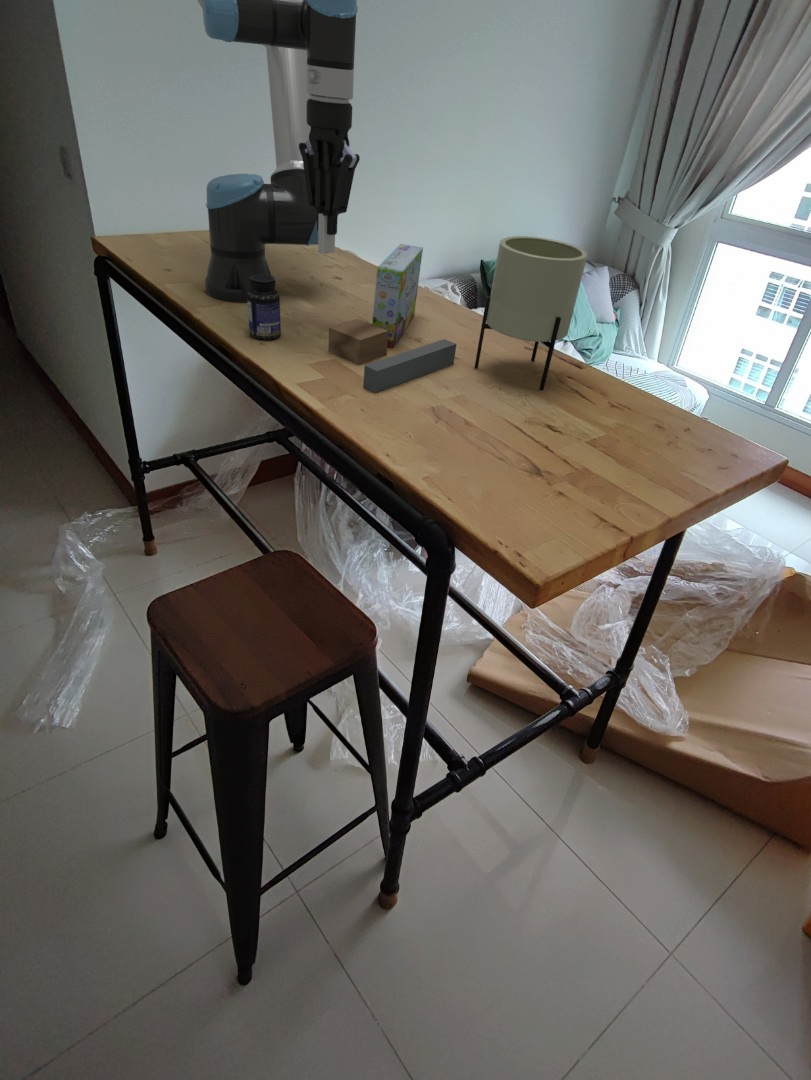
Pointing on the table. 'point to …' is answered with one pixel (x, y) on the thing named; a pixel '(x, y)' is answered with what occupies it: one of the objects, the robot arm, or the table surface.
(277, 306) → the pill bottle
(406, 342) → the table surface
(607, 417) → the table surface
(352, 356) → the block
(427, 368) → the gray rectangular bar
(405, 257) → the snack box
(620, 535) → the table surface
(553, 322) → the planter
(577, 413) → the table surface
